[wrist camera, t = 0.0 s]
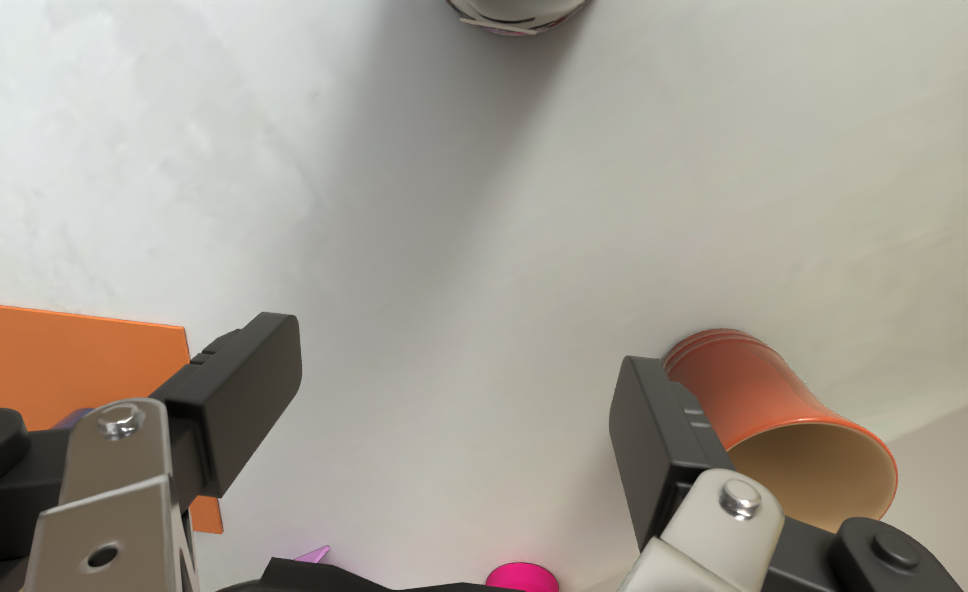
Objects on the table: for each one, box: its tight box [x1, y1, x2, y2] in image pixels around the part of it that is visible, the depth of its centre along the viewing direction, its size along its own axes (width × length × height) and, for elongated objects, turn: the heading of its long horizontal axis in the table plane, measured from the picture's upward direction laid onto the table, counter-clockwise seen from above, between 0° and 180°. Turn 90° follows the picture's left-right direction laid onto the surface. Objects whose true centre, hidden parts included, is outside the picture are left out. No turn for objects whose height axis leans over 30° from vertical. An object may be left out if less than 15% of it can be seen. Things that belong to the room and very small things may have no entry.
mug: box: [662, 329, 898, 534], centre depth 27 cm, size 12×9×10 cm
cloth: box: [0, 305, 223, 534], centre depth 37 cm, size 20×16×1 cm
